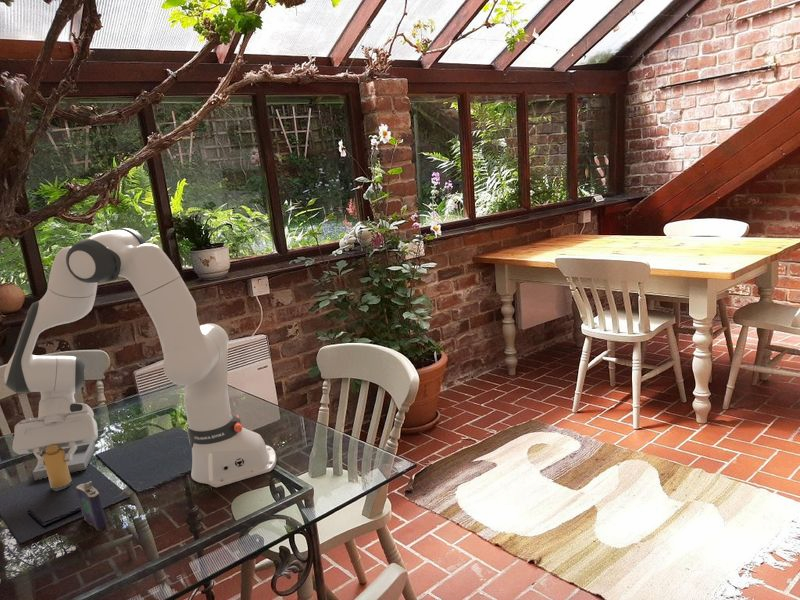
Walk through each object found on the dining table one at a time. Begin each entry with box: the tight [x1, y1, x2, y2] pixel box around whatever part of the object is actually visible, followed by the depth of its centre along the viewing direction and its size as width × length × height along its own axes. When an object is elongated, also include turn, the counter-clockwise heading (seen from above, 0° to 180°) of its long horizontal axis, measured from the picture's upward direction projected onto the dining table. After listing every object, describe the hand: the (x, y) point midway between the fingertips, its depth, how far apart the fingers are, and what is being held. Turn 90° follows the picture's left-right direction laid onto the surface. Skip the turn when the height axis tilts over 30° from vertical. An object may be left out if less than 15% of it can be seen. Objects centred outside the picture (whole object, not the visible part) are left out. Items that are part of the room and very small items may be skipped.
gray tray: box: [32, 441, 97, 481], centre depth 173 cm, size 13×13×2 cm
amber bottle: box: [42, 444, 73, 489], centre depth 160 cm, size 5×5×12 cm
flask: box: [75, 480, 108, 531], centre depth 143 cm, size 9×3×11 cm, turn 50°
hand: (55, 463), depth 159 cm, fingers closed on amber bottle, 5 cm apart
